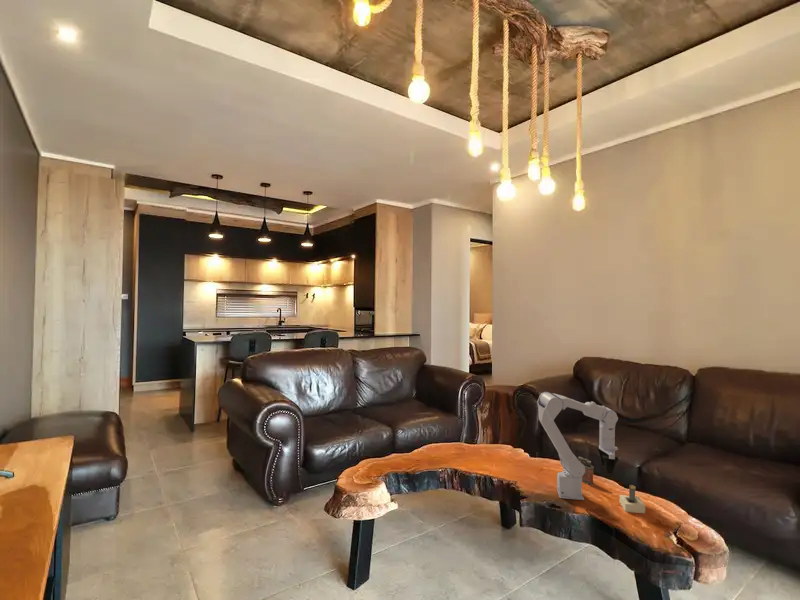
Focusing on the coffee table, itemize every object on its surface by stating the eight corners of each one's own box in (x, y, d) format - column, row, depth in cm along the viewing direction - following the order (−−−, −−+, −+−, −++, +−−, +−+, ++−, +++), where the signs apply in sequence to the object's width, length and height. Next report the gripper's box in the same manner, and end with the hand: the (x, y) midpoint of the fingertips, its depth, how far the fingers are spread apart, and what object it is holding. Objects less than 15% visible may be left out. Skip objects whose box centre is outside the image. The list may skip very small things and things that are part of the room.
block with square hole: (625, 511, 162) (625, 504, 162) (619, 502, 169) (619, 494, 169) (645, 513, 161) (645, 505, 161) (638, 503, 168) (638, 496, 168)
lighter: (595, 483, 185) (595, 461, 184) (590, 485, 183) (590, 463, 182) (579, 476, 192) (579, 454, 191) (574, 478, 190) (574, 456, 189)
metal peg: (630, 509, 164) (630, 487, 164) (627, 506, 166) (628, 484, 166) (635, 509, 164) (636, 487, 164) (633, 506, 166) (633, 485, 166)
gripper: (623, 444, 167) (622, 477, 168) (612, 431, 181) (612, 462, 182) (604, 443, 169) (603, 476, 169) (594, 430, 183) (594, 460, 184)
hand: (606, 468), depth 176 cm, fingers open, 7 cm apart
